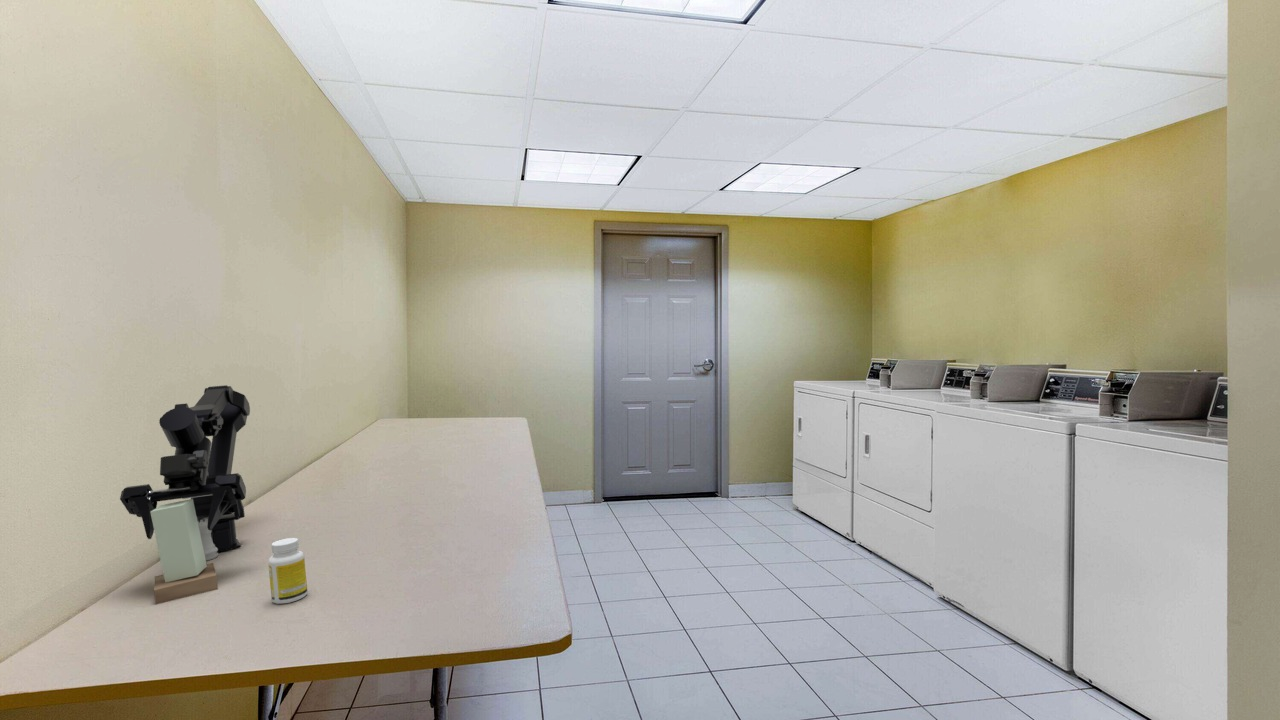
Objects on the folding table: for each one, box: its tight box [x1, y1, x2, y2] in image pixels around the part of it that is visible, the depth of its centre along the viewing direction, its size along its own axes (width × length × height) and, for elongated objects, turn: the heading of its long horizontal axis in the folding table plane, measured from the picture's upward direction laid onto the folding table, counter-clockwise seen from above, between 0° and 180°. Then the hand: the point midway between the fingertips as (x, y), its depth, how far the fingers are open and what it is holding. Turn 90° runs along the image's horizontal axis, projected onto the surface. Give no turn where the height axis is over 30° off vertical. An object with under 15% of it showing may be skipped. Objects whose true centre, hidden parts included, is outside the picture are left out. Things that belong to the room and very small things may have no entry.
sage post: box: [150, 498, 208, 583], centre depth 117 cm, size 5×5×13 cm
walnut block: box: [153, 562, 219, 605], centre depth 118 cm, size 9×9×3 cm
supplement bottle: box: [267, 537, 308, 605], centre depth 110 cm, size 5×5×10 cm
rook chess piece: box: [198, 519, 220, 562], centre depth 135 cm, size 4×4×8 cm
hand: (179, 533), depth 117 cm, fingers open, 9 cm apart
